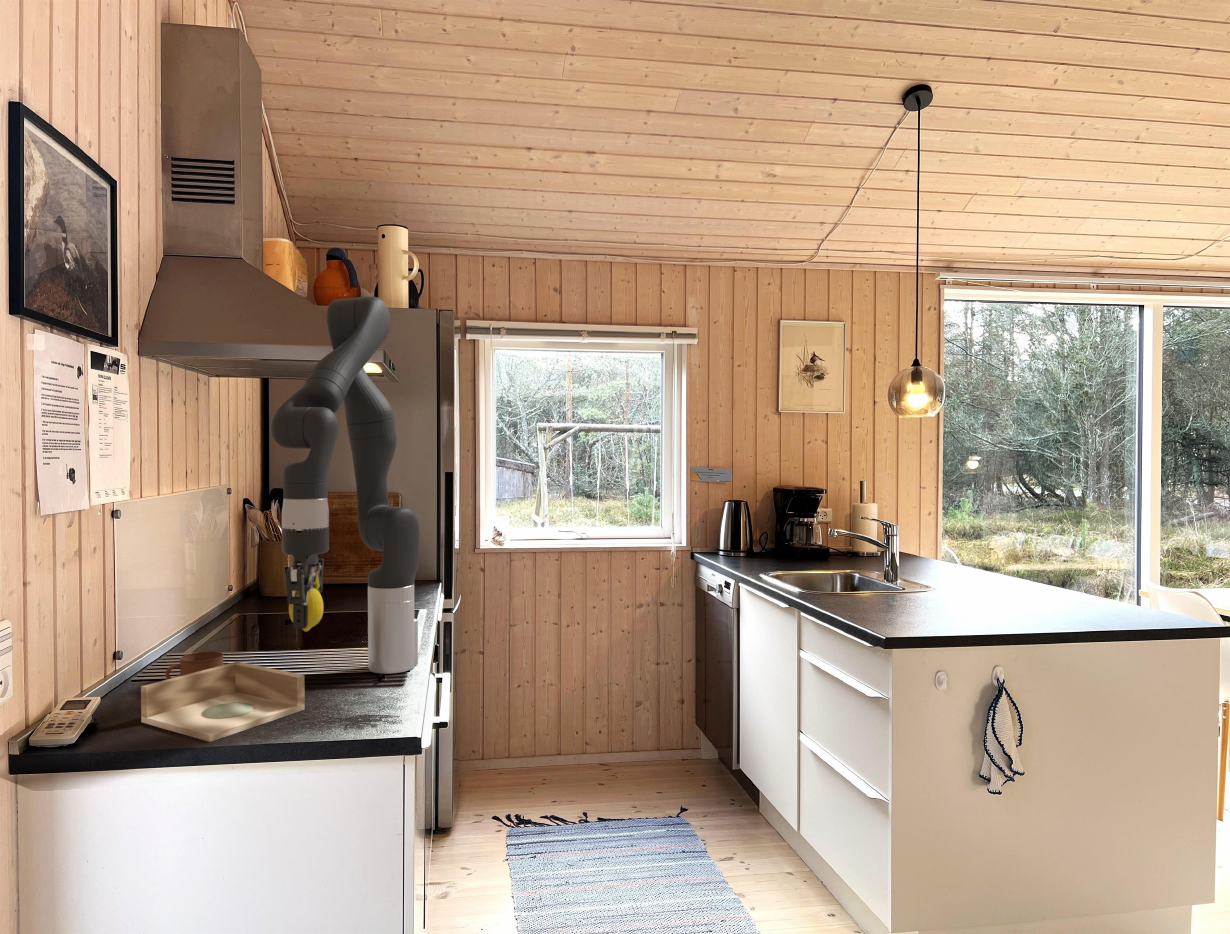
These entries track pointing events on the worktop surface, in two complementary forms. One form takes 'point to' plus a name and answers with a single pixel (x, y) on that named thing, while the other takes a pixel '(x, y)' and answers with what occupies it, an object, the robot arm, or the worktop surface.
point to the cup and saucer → (197, 663)
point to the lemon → (311, 609)
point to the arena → (222, 700)
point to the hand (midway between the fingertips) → (305, 623)
